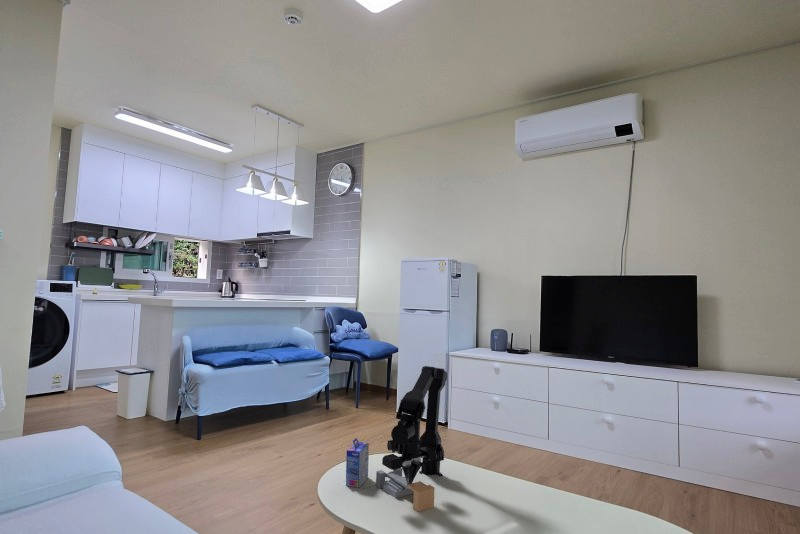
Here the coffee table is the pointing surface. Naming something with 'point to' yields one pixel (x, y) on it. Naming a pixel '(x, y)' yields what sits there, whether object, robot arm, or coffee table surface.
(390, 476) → the strap
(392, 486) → the board
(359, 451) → the ink cartridge box
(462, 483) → the coffee table surface
